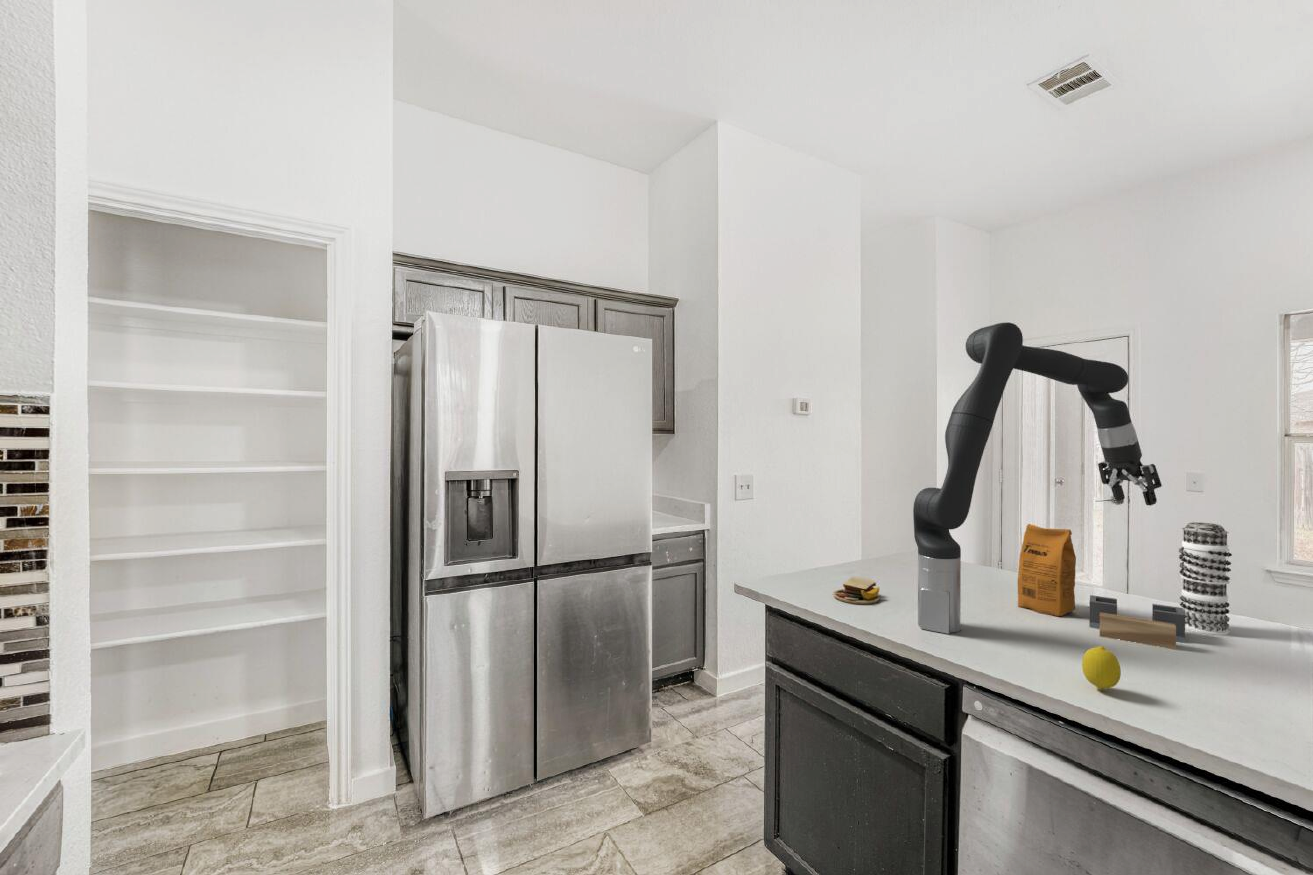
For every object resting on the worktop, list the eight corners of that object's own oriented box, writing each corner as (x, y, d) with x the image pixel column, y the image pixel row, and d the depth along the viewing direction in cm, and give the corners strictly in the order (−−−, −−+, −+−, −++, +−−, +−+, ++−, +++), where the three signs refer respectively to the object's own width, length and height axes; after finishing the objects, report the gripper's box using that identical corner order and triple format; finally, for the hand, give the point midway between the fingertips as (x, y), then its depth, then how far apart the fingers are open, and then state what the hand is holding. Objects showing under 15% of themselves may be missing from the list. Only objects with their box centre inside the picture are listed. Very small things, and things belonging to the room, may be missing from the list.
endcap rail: (1185, 642, 127) (1185, 615, 127) (1089, 626, 138) (1089, 601, 138) (1181, 632, 134) (1181, 607, 134) (1090, 618, 144) (1090, 594, 144)
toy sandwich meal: (823, 598, 163) (823, 581, 163) (851, 590, 171) (851, 574, 171) (863, 608, 153) (863, 591, 153) (890, 599, 161) (890, 582, 161)
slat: (1175, 650, 124) (1176, 627, 124) (1099, 637, 132) (1099, 615, 132) (1174, 646, 126) (1174, 623, 126) (1099, 633, 134) (1099, 612, 134)
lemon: (1074, 684, 107) (1074, 641, 107) (1102, 683, 107) (1102, 640, 107) (1099, 697, 101) (1100, 652, 101) (1129, 696, 102) (1129, 651, 102)
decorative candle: (1230, 628, 137) (1231, 523, 136) (1232, 638, 130) (1233, 528, 130) (1178, 619, 143) (1179, 519, 143) (1177, 629, 136) (1178, 524, 136)
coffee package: (1032, 600, 159) (1033, 521, 159) (1082, 613, 148) (1082, 528, 148) (1010, 605, 155) (1010, 524, 155) (1059, 618, 144) (1059, 531, 144)
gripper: (1082, 445, 152) (1098, 503, 153) (1131, 447, 138) (1149, 511, 139) (1107, 436, 153) (1123, 494, 154) (1158, 437, 139) (1176, 501, 140)
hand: (1135, 502), depth 146 cm, fingers open, 8 cm apart
